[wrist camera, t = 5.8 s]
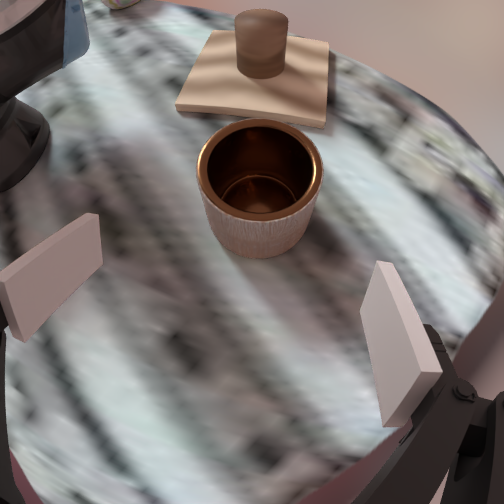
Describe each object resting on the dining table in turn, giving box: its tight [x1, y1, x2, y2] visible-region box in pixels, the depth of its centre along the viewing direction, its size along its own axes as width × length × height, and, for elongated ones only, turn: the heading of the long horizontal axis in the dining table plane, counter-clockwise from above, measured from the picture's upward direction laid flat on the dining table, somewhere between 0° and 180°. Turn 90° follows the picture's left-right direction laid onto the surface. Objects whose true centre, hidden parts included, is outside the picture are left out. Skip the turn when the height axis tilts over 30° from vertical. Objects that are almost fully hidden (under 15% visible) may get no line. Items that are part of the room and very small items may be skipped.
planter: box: [196, 118, 324, 259], centre depth 30 cm, size 11×11×10 cm
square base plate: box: [175, 9, 329, 129], centre depth 37 cm, size 20×20×10 cm
